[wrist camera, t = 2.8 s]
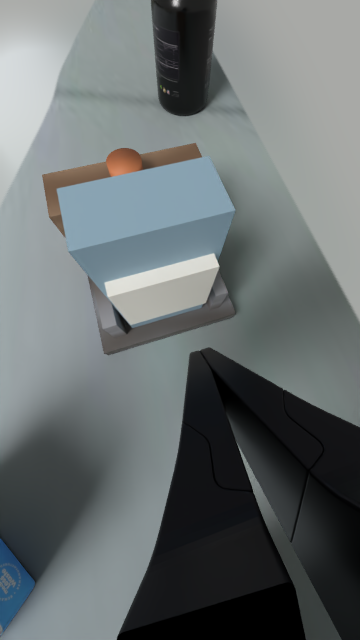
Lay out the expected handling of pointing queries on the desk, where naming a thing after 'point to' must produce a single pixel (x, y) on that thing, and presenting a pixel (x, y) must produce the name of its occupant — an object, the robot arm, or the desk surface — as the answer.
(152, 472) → the desk surface
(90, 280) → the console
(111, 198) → the blue white block
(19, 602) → the ink box
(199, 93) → the supplement bottle
